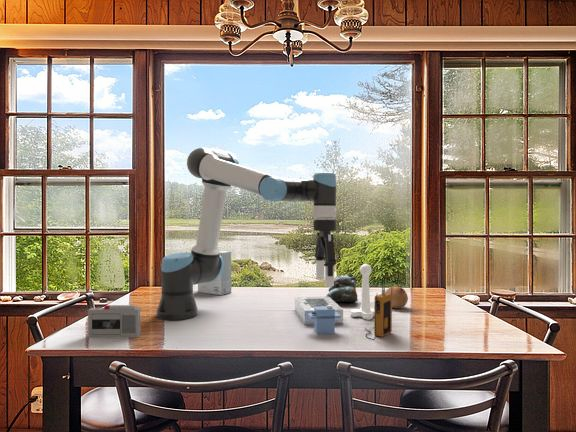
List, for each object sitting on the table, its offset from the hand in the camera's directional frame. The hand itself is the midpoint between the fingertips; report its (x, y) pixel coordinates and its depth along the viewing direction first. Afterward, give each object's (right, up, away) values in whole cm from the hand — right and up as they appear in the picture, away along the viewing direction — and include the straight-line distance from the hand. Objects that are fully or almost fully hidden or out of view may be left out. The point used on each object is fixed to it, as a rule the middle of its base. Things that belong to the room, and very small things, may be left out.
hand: (324, 282), depth 143 cm
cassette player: (-68, -17, -5) cm, 70 cm away
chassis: (-1, -16, +21) cm, 26 cm away
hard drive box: (-48, -15, +64) cm, 81 cm away
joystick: (+17, -16, +19) cm, 31 cm away
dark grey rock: (+11, -16, +44) cm, 48 cm away
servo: (0, -17, 0) cm, 17 cm away
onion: (+32, -16, +34) cm, 50 cm away
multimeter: (+16, -17, 0) cm, 23 cm away
